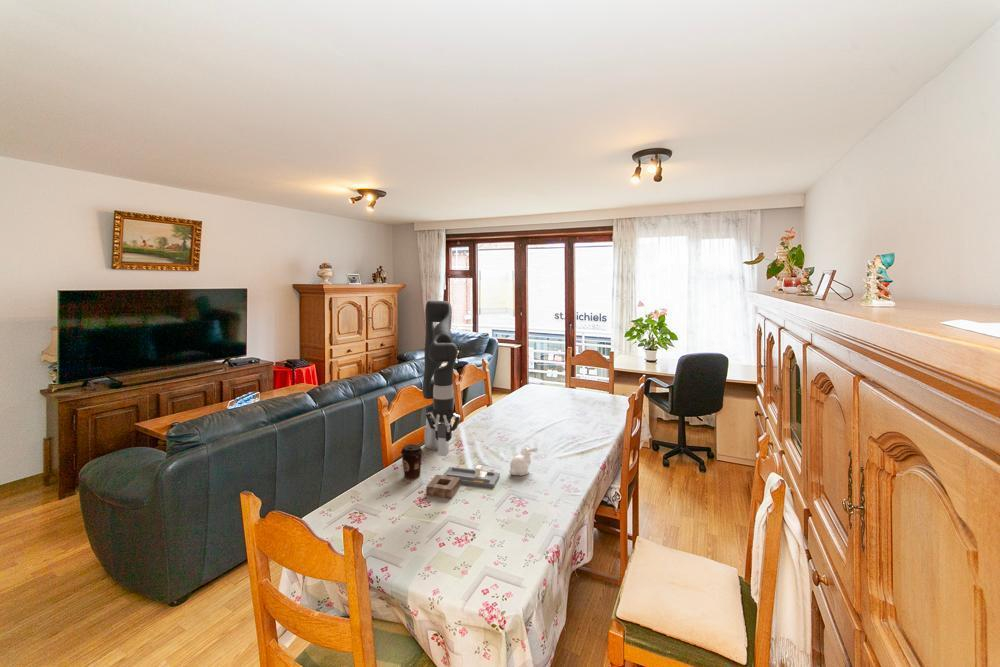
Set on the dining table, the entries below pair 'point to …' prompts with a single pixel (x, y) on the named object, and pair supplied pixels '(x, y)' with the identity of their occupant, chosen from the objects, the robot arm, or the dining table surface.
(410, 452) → the coffee cup
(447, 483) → the brown wooden socket block
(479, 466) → the switch slider
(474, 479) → the switch panel
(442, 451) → the pin tool
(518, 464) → the rabbit
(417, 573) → the dining table surface
